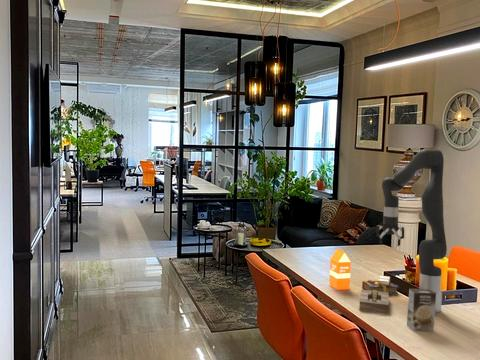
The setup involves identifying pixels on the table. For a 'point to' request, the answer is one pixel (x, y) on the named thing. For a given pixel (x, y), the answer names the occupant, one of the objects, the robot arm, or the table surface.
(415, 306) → the coffee box
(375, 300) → the button lever
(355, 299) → the table surface
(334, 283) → the orange juice
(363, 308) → the pocket block
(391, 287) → the decorative book
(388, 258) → the table surface
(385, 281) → the tile
